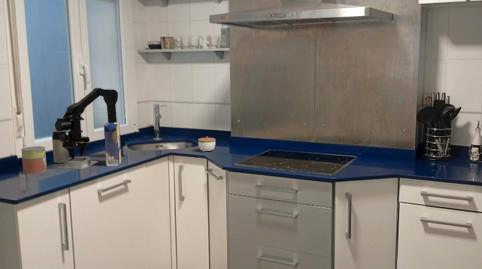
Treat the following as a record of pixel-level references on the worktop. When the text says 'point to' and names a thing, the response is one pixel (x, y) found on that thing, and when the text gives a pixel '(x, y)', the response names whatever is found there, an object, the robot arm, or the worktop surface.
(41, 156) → the canned food
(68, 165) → the grey faceted ring
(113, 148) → the beverage box
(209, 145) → the lidded jar
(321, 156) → the worktop surface
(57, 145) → the travel mug
